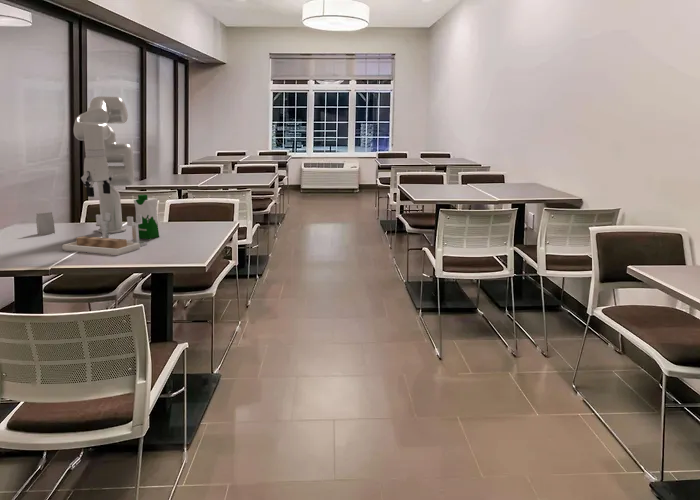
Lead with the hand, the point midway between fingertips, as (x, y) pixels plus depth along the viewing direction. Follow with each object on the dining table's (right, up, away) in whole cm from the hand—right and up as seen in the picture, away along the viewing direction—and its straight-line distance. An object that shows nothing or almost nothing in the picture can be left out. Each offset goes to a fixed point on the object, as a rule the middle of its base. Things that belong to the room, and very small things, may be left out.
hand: (99, 195), depth 253 cm
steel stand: (+6, -21, +10) cm, 23 cm away
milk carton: (+12, -18, +26) cm, 33 cm away
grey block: (-40, -15, +35) cm, 55 cm away
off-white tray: (+2, -23, -1) cm, 23 cm away
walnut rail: (+2, -22, -1) cm, 22 cm away
